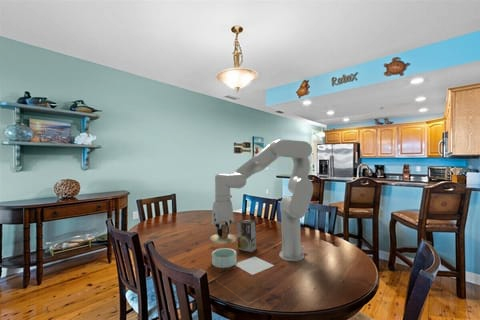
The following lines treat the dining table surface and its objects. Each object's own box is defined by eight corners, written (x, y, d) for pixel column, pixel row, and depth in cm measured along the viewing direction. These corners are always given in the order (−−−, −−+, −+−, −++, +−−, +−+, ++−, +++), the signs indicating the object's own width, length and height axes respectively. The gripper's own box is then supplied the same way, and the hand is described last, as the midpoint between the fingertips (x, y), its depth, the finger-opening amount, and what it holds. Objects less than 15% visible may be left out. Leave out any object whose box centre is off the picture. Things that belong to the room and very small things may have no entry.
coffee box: (256, 248, 137) (256, 220, 137) (251, 252, 131) (251, 223, 131) (243, 246, 141) (242, 218, 141) (237, 249, 136) (236, 221, 136)
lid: (226, 233, 128) (226, 220, 128) (241, 240, 118) (241, 225, 118) (205, 238, 120) (205, 225, 120) (219, 246, 110) (219, 231, 110)
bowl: (227, 255, 128) (226, 246, 128) (241, 263, 118) (240, 253, 118) (207, 262, 120) (207, 252, 120) (220, 270, 111) (220, 260, 111)
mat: (254, 257, 125) (254, 256, 125) (274, 266, 114) (274, 265, 114) (233, 265, 116) (233, 264, 116) (252, 275, 105) (252, 274, 105)
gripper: (231, 195, 127) (232, 230, 127) (204, 199, 117) (205, 236, 117) (240, 197, 121) (240, 233, 121) (212, 201, 111) (213, 240, 111)
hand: (223, 234), depth 119 cm, fingers closed on lid, 3 cm apart
